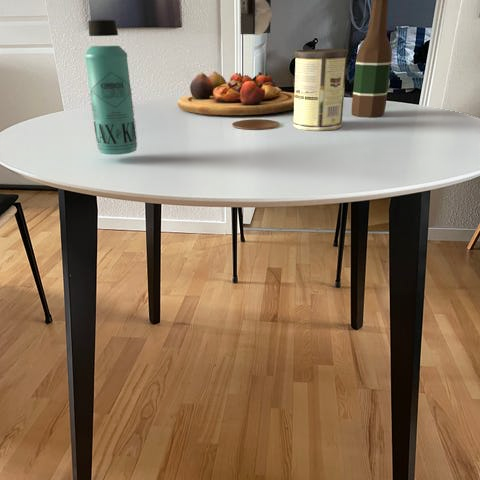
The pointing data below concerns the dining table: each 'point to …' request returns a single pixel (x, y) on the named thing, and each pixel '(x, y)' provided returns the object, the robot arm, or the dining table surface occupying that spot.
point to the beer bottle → (373, 66)
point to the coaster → (255, 124)
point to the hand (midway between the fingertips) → (255, 33)
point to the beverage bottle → (110, 92)
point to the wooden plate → (235, 95)
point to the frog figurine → (262, 16)
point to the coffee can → (319, 89)
